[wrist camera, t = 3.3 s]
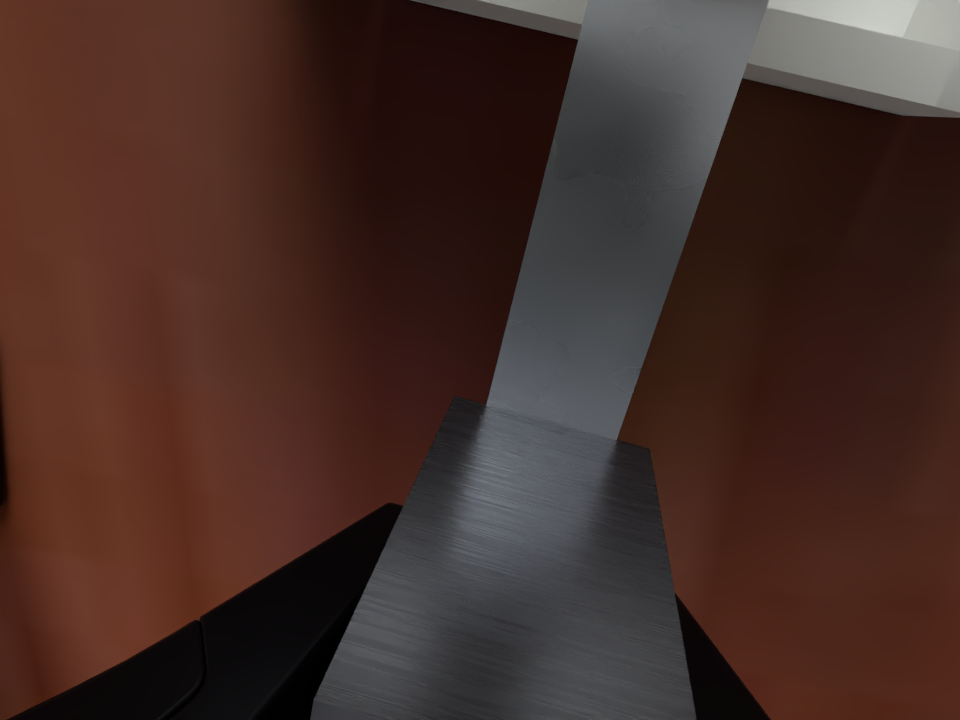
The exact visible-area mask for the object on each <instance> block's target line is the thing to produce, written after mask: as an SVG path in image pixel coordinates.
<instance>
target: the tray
mask: <svg viewBox="0 0 960 720" xmlns="http://www.w3.org/2000/svg"><path fill="white" fill-rule="evenodd" d="M411 1H415V2H420V3H424V4H428V5H432V6H437V7H441V8H445V9H450V10H454V11H458V12H462V13H467V14H471V15H475V16H479V17H484V18H488V19H492V20H496V21H501V22H505V23H509V24H514V25H518V26H522V27H526V28H531V29H535V30H539V31H543V32H548V33H552V34H556V35H561V36H565V37H569V38H573V39H579V35H580V31H581V27H582V23H583V19H584V15H585V11H586V7H587V3H588V0H411ZM742 78H744V79H748V80H753V81H757V82H761V83H765V84H770V85H774V86H778V87H783V88H787V89H791V90H795V91H800V92H804V93H808V94H812V95H817V96H821V97H825V98H829V99H834V100H838V101H842V102H847V103H851V104H855V105H859V106H864V107H868V108H872V109H876V110H881V111H885V112H889V113H894V114H898V115H902V116H927V117H953V118H960V0H769V2H768V5H767V8H766V11H765V14H764V16H763V19H762V22H761V25H760V28H759V31H758V34H757V37H756V40H755V42H754V45H753V48H752V51H751V54H750V57H749V60H748V63H747V65H746V68H745V71H744V74H743V77H742Z"/></svg>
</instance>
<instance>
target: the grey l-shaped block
mask: <svg viewBox="0 0 960 720" xmlns="http://www.w3.org/2000/svg"><path fill="white" fill-rule="evenodd" d="M768 2H769V0H588V3H587V7H586V11H585V15H584V19H583V23H582V27H581V31H580V35H579V39H578V43H577V47H576V51H575V55H574V59H573V63H572V67H571V71H570V75H569V79H568V83H567V87H566V91H565V95H564V99H563V103H562V107H561V111H560V115H559V119H558V123H557V127H556V131H555V135H554V139H553V142H552V146H551V150H550V154H549V158H548V162H547V166H546V170H545V174H544V178H543V182H542V186H541V190H540V194H539V198H538V202H537V206H536V210H535V214H534V218H533V222H532V226H531V230H530V234H529V238H528V242H527V246H526V250H525V254H524V258H523V262H522V266H521V270H520V274H519V278H518V282H517V286H516V290H515V294H514V298H513V301H512V305H511V309H510V313H509V317H508V321H507V325H506V329H505V333H504V337H503V341H502V345H501V349H500V353H499V357H498V361H497V365H496V369H495V373H494V377H493V381H492V385H491V389H490V393H489V397H488V401H487V405H486V404H483V403H479V402H475V401H472V400H468V399H464V398H460V397H457V396H454V398H453V400H452V402H451V405H450V407H449V409H448V411H447V413H446V415H445V418H444V420H443V422H442V424H441V426H440V428H439V430H438V433H437V435H436V437H435V439H434V441H433V443H432V446H431V448H430V450H429V452H428V454H427V456H426V459H425V461H424V463H423V465H422V467H421V469H420V471H419V474H418V476H417V478H416V480H415V482H414V484H413V487H412V489H411V491H410V493H409V495H408V497H407V500H406V502H405V504H404V506H403V508H402V510H401V512H400V515H399V517H398V519H397V521H396V523H395V525H394V528H393V530H392V532H391V534H390V536H389V538H388V541H387V543H386V545H385V547H384V549H383V551H382V553H381V556H380V558H379V560H378V562H377V564H376V566H375V569H374V571H373V573H372V575H371V577H370V579H369V582H368V584H367V586H366V588H365V590H364V592H363V594H362V597H361V599H360V601H359V603H358V605H357V607H356V610H355V612H354V614H353V616H352V618H351V620H350V623H349V625H348V627H347V629H346V631H345V633H344V635H343V638H342V640H341V642H340V644H339V646H338V648H337V651H336V653H335V655H334V657H333V659H332V661H331V664H330V666H329V668H328V670H327V672H326V674H325V676H324V679H323V681H322V683H321V685H320V687H319V689H318V692H317V694H316V696H315V698H314V701H313V707H312V713H311V719H310V720H697V719H696V714H695V708H694V702H693V696H692V690H691V685H690V679H689V673H688V667H687V661H686V656H685V650H684V644H683V638H682V633H681V627H680V621H679V615H678V609H677V604H676V598H675V592H674V586H673V581H672V575H671V569H670V563H669V557H668V552H667V546H666V540H665V534H664V529H663V523H662V517H661V511H660V505H659V500H658V494H657V488H656V482H655V476H654V471H653V465H652V459H651V453H650V449H649V448H645V447H641V446H638V445H634V444H630V443H626V442H623V441H619V440H617V437H618V435H619V432H620V429H621V426H622V423H623V420H624V417H625V414H626V412H627V409H628V406H629V403H630V400H631V397H632V394H633V391H634V388H635V386H636V383H637V380H638V377H639V374H640V371H641V368H642V365H643V362H644V360H645V357H646V354H647V351H648V348H649V345H650V342H651V339H652V337H653V334H654V331H655V328H656V325H657V322H658V319H659V316H660V313H661V311H662V308H663V305H664V302H665V299H666V296H667V293H668V290H669V288H670V285H671V282H672V279H673V276H674V273H675V270H676V267H677V264H678V262H679V259H680V256H681V253H682V250H683V247H684V244H685V241H686V239H687V236H688V233H689V230H690V227H691V224H692V221H693V218H694V215H695V213H696V210H697V207H698V204H699V201H700V198H701V195H702V192H703V189H704V187H705V184H706V181H707V178H708V175H709V172H710V169H711V166H712V164H713V161H714V158H715V155H716V152H717V149H718V146H719V143H720V140H721V138H722V135H723V132H724V129H725V126H726V123H727V120H728V117H729V115H730V112H731V109H732V106H733V103H734V100H735V97H736V94H737V91H738V89H739V86H740V83H741V80H742V77H743V74H744V71H745V68H746V65H747V63H748V60H749V57H750V54H751V51H752V48H753V45H754V42H755V40H756V37H757V34H758V31H759V28H760V25H761V22H762V19H763V16H764V14H765V11H766V8H767V5H768Z"/></svg>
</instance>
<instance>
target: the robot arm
mask: <svg viewBox="0 0 960 720" xmlns="http://www.w3.org/2000/svg"><path fill="white" fill-rule="evenodd" d="M2 503H3V494H2V481H1V468H0V507H1V506H2ZM402 508H403V506H402V505H398V504H395V503H387V504H385V505H383V506H382V507H380V508H378V509H377V510H375V511H373V512H372V513H370V514H368V515H367V516H365V517H363V518H362V519H360V520H359V521H357V522H355V523H354V524H352V525H350V526H349V527H347V528H345V529H344V530H342V531H340V532H339V533H337V534H336V535H334V536H332V537H331V538H329V539H327V540H326V541H324V542H322V543H321V544H319V545H317V546H316V547H314V548H313V549H311V550H309V551H308V552H306V553H304V554H303V555H301V556H299V557H298V558H296V559H294V560H293V561H291V562H289V563H288V564H286V565H285V566H283V567H281V568H280V569H278V570H276V571H275V572H273V573H271V574H270V575H268V576H266V577H265V578H263V579H262V580H260V581H258V582H257V583H255V584H253V585H252V586H250V587H248V588H247V589H245V590H243V591H242V592H240V593H239V594H237V595H235V596H234V597H232V598H230V599H229V600H227V601H225V602H224V603H222V604H220V605H219V606H217V607H216V608H214V609H212V610H211V611H209V612H207V613H206V614H204V615H202V616H201V617H200V621H198V620H194V621H192V622H190V623H189V624H187V625H185V626H184V627H182V628H181V629H179V630H177V631H176V632H174V633H172V634H171V635H169V636H167V637H166V638H164V639H162V640H160V641H159V642H157V643H155V644H153V645H152V646H150V647H148V648H146V649H145V650H143V651H141V652H139V653H138V654H136V655H134V656H132V657H131V658H129V659H127V660H125V661H123V662H121V663H120V664H118V665H116V666H114V667H112V668H110V669H108V670H106V671H104V672H102V673H100V674H98V675H96V676H94V677H92V678H90V679H88V680H86V681H85V682H83V683H81V684H79V685H77V686H75V687H73V688H71V689H69V690H67V691H65V692H63V693H60V694H58V695H56V696H54V697H52V698H50V699H48V700H46V701H44V702H42V703H40V704H38V705H36V706H34V707H32V708H30V709H28V710H26V711H24V712H22V713H19V714H17V715H15V716H13V717H11V718H9V719H7V720H310V719H311V713H312V707H313V701H314V698H315V696H316V694H317V692H318V689H319V687H320V685H321V683H322V681H323V679H324V676H325V674H326V672H327V670H328V668H329V666H330V664H331V661H332V659H333V657H334V655H335V653H336V651H337V648H338V646H339V644H340V642H341V640H342V638H343V635H344V633H345V631H346V629H347V627H348V625H349V623H350V620H351V618H352V616H353V614H354V612H355V610H356V607H357V605H358V603H359V601H360V599H361V597H362V594H363V592H364V590H365V588H366V586H367V584H368V582H369V579H370V577H371V575H372V573H373V571H374V569H375V566H376V564H377V562H378V560H379V558H380V556H381V553H382V551H383V549H384V547H385V545H386V543H387V541H388V538H389V536H390V534H391V532H392V530H393V528H394V525H395V523H396V521H397V519H398V517H399V515H400V512H401V510H402ZM675 598H676V604H677V609H678V615H679V621H680V627H681V633H682V638H683V644H684V650H685V656H686V661H687V667H688V673H689V679H690V685H691V690H692V696H693V702H694V708H695V714H696V719H697V720H771V719H770V718H769V717H768V715H767V714H766V713H765V711H764V710H763V709H762V707H761V706H760V705H759V703H758V702H757V701H756V699H755V698H754V697H753V695H752V694H751V693H750V691H749V690H748V689H747V688H746V686H745V685H744V684H743V682H742V681H741V680H740V678H739V677H738V676H737V674H736V673H735V672H734V670H733V669H732V668H731V666H730V665H729V664H728V662H727V661H726V660H725V658H724V657H723V656H722V654H721V653H720V652H719V650H718V649H717V648H716V646H715V645H714V644H713V642H712V641H711V640H710V638H709V637H708V636H707V634H706V633H705V632H704V630H703V629H702V628H701V626H700V625H699V624H698V622H697V621H696V620H695V619H694V617H693V616H692V615H691V613H690V612H689V611H688V609H687V608H686V607H685V605H684V604H683V603H682V601H681V600H680V599H679V597H678V596H677V595H676V593H675Z"/></svg>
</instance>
